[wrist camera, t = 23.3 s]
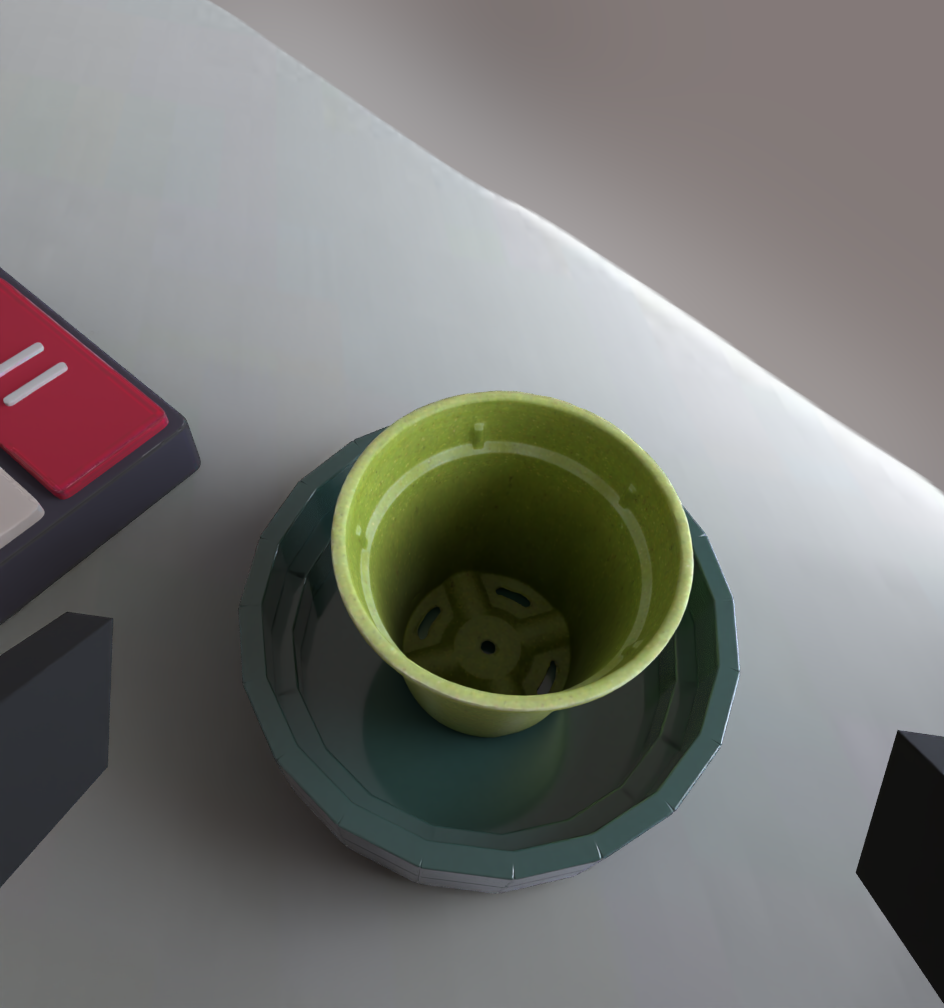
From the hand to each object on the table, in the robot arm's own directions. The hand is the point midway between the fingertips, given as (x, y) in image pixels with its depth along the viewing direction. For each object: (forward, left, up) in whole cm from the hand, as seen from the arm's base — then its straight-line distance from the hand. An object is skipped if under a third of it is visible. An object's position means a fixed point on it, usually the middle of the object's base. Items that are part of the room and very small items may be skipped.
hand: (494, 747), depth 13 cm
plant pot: (-4, +5, -13) cm, 14 cm away
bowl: (-4, +6, -13) cm, 15 cm away
